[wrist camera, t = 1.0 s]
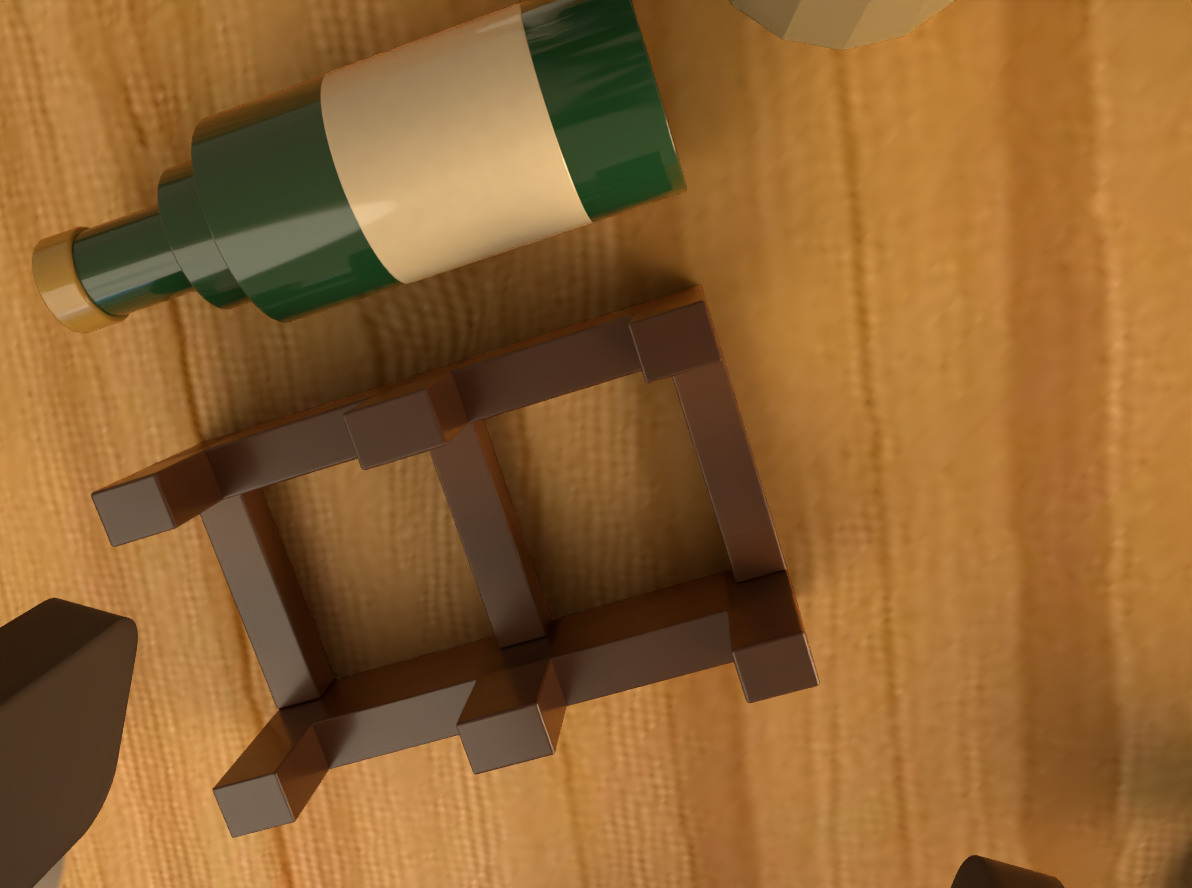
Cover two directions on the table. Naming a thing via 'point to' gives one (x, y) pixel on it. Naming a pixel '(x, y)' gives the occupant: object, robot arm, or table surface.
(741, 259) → the table surface
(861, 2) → the squeeze bottle
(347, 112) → the bottle
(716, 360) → the rack
